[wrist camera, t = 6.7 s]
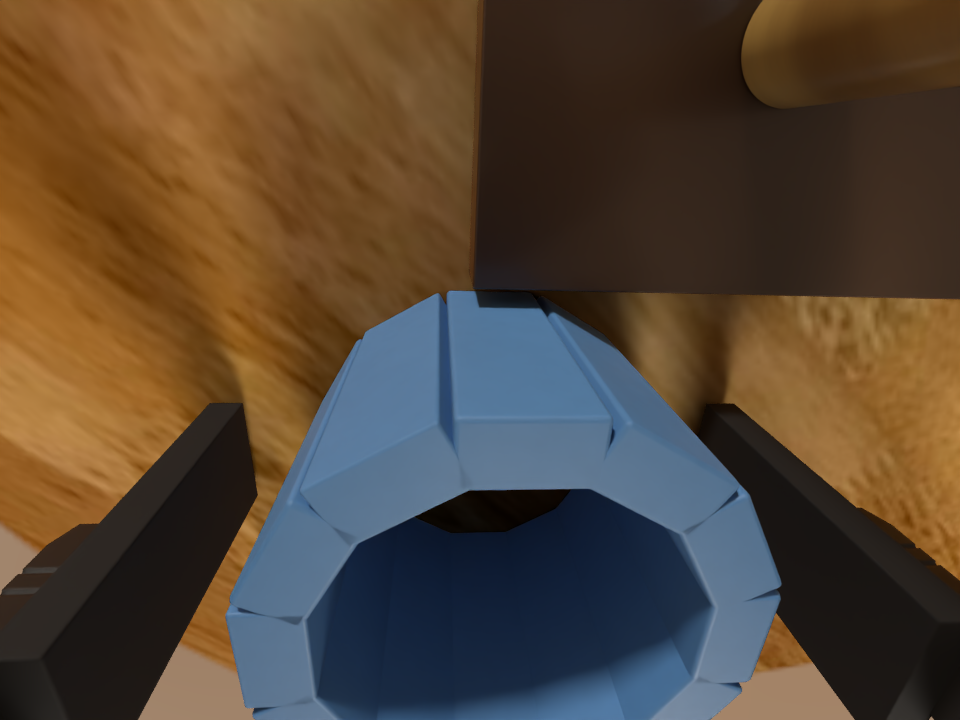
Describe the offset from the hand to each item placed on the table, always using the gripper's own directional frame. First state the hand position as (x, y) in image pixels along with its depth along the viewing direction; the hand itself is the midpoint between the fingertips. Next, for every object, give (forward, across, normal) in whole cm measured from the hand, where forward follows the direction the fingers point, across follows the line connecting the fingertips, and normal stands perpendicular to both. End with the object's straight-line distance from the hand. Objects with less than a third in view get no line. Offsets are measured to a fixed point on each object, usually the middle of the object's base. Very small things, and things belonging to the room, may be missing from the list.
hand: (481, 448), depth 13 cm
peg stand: (0, +5, +14) cm, 15 cm away
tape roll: (0, 0, 0) cm, 0 cm away
